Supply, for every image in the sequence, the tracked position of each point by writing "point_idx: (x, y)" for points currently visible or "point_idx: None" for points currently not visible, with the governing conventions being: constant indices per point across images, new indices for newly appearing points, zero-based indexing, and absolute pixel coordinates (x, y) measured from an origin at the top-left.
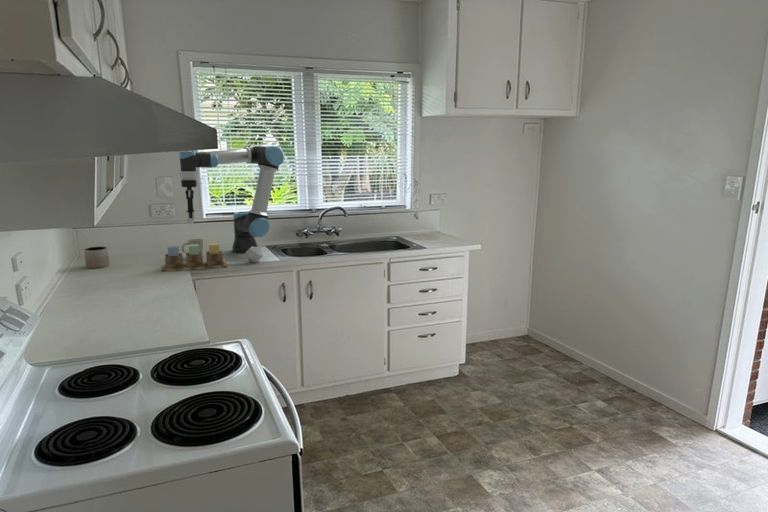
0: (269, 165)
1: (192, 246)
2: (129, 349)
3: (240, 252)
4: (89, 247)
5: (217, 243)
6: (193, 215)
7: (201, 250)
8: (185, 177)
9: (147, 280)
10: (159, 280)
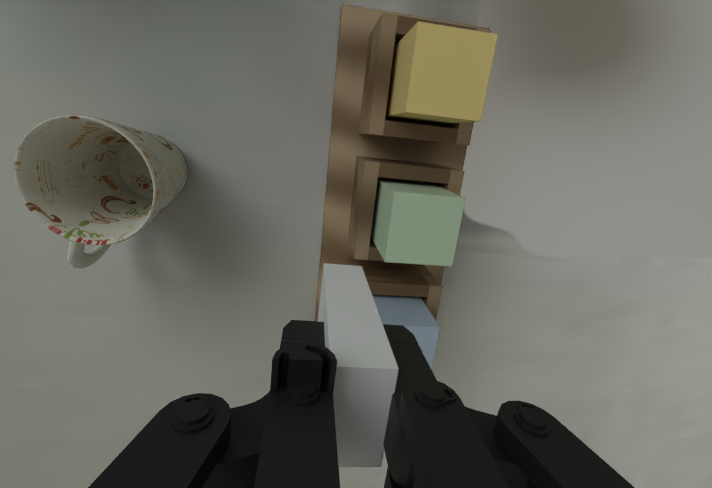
0: None
1: (456, 241)
2: None
3: None
4: None
5: (432, 33)
6: (381, 327)
7: (156, 139)
8: None
9: (535, 384)
10: (559, 347)
